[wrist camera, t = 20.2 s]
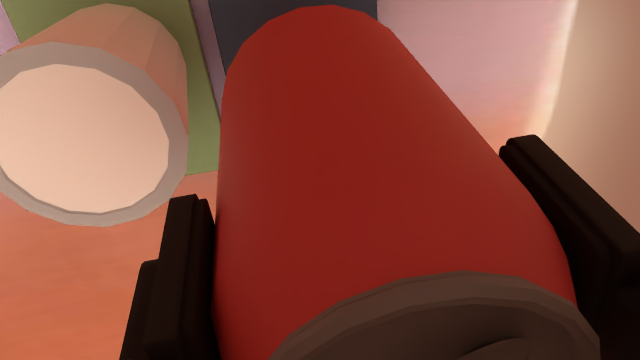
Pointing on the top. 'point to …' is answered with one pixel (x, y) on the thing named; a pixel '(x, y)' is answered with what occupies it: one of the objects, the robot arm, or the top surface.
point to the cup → (94, 118)
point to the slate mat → (262, 18)
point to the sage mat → (177, 17)
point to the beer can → (373, 212)
